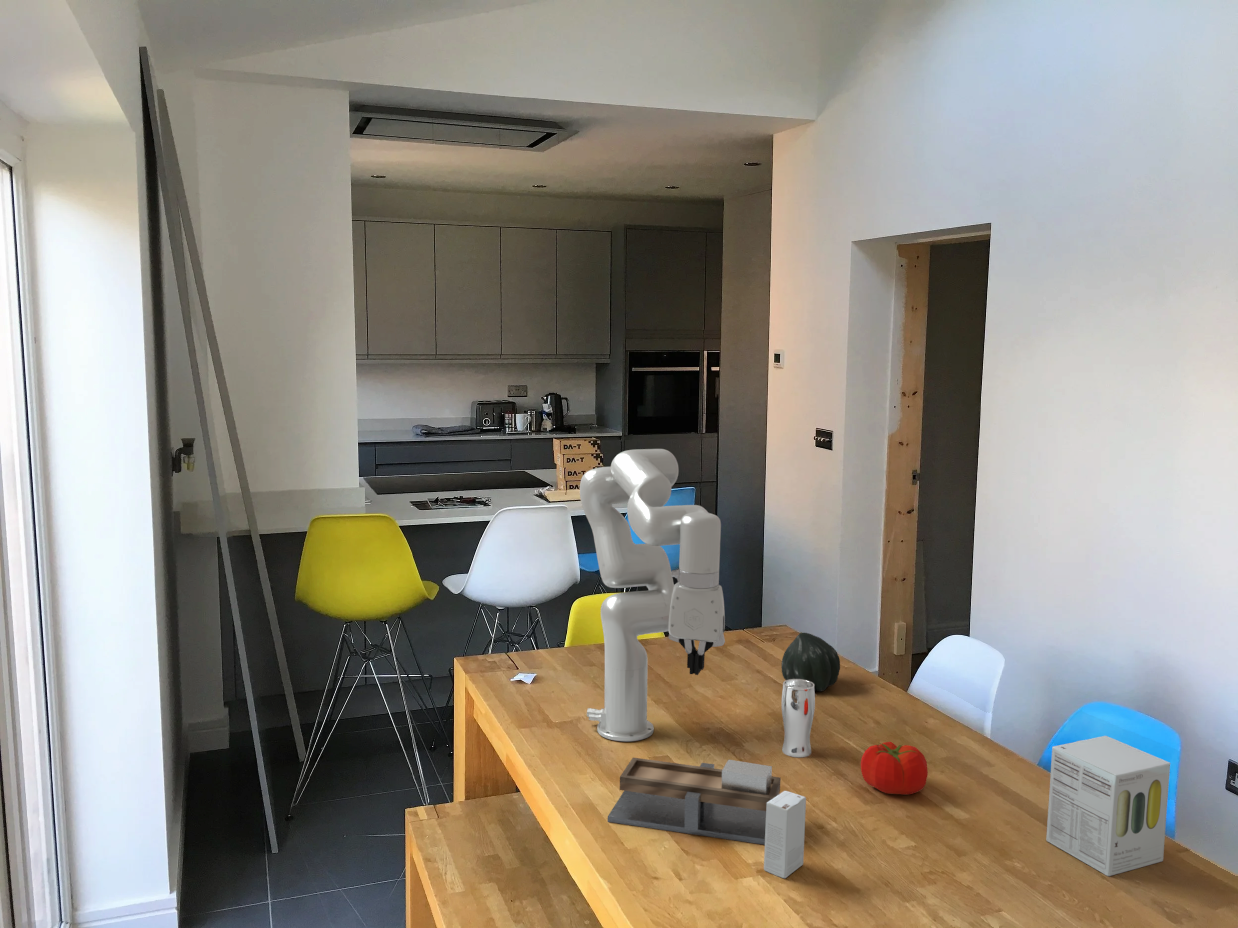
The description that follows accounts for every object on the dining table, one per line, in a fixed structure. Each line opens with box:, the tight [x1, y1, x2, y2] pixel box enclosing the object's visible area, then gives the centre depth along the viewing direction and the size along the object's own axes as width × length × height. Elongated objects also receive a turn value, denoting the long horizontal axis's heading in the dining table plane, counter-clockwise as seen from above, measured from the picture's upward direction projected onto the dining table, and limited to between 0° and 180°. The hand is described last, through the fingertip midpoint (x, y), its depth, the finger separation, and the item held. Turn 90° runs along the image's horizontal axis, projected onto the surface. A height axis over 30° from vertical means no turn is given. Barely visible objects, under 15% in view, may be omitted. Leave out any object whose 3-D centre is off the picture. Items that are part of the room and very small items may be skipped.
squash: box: [781, 632, 841, 692], centre depth 250 cm, size 14×15×15 cm
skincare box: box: [763, 790, 807, 879], centre depth 161 cm, size 6×4×12 cm
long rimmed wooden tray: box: [619, 757, 781, 811], centre depth 179 cm, size 28×9×2 cm, turn 74°
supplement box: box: [1045, 735, 1171, 877], centre depth 167 cm, size 13×13×18 cm
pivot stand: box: [607, 762, 766, 846], centre depth 179 cm, size 31×15×7 cm, turn 74°
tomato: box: [860, 741, 929, 796], centre depth 192 cm, size 13×12×8 cm
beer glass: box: [781, 679, 816, 759], centre depth 208 cm, size 7×7×15 cm
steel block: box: [721, 759, 773, 795], centre depth 176 cm, size 8×5×4 cm, turn 70°
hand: (695, 671), depth 187 cm, fingers closed
